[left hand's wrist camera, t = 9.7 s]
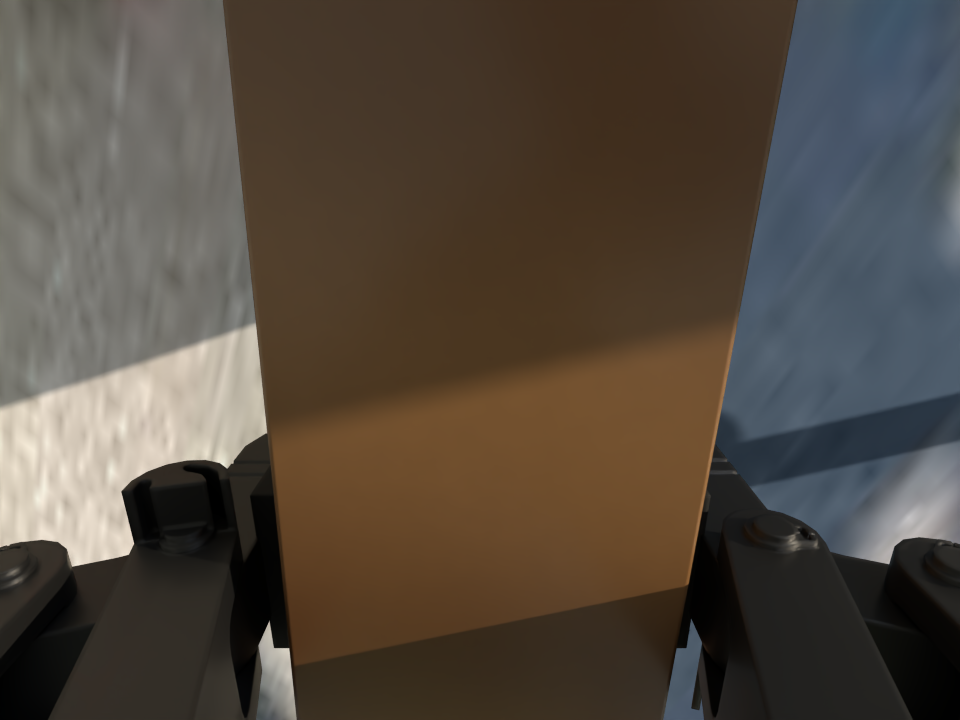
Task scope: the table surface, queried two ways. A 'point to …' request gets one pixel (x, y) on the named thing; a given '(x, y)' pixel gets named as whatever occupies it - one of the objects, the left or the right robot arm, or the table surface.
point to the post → (496, 333)
